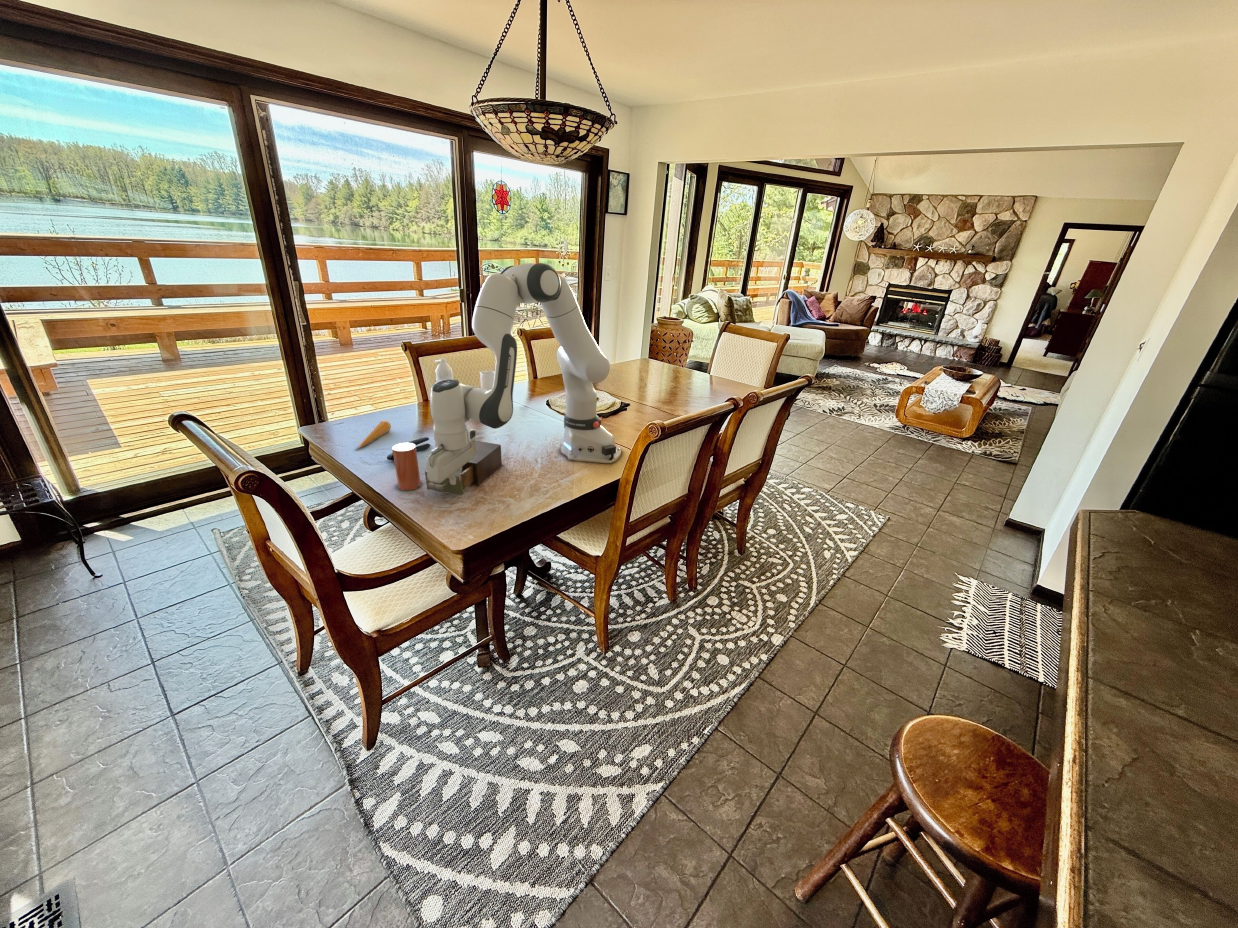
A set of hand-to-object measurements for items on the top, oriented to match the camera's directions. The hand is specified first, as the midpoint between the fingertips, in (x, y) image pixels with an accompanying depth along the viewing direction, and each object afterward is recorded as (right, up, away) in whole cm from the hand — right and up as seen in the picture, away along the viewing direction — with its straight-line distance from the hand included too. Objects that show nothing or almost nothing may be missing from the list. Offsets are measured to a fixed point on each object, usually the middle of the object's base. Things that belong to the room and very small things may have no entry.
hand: (455, 482), depth 139 cm
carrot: (-44, +14, +38) cm, 60 cm away
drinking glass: (-12, +33, +81) cm, 88 cm away
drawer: (-4, -1, +9) cm, 10 cm away
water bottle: (-24, +24, +62) cm, 71 cm away
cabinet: (-1, +3, +20) cm, 20 cm away
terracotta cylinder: (-17, -1, +9) cm, 19 cm away
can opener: (-25, +8, +28) cm, 38 cm away
